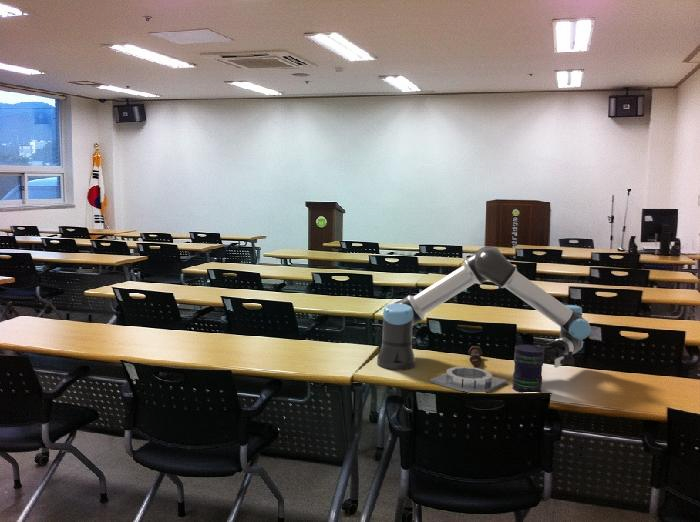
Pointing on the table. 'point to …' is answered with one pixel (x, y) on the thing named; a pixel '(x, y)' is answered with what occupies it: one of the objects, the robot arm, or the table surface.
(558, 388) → the table surface
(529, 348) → the storage jar
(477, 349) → the brown tall piece
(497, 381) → the hub plate
